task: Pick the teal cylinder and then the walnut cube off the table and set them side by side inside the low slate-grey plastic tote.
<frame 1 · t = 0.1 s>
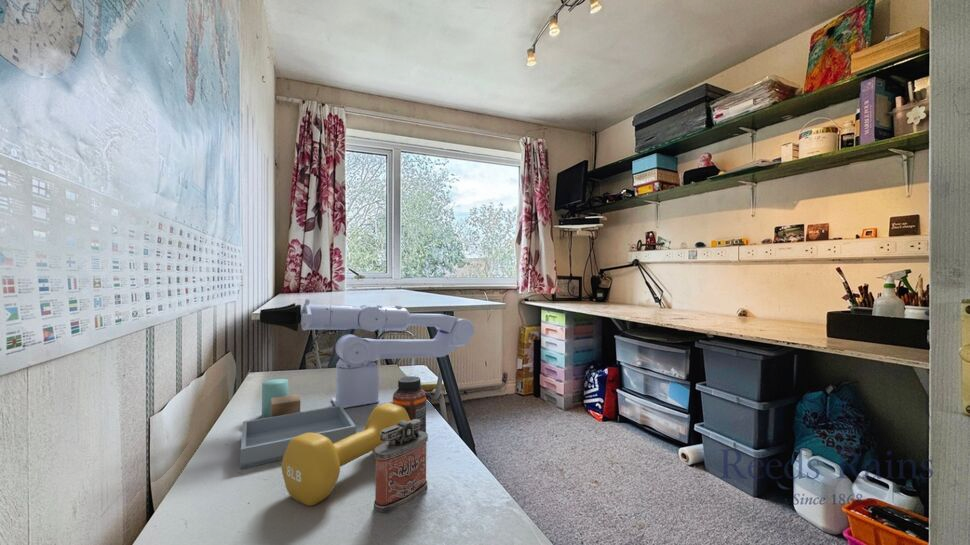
hand: (260, 315, 78), 22 cm above the table, tool horizontal, fingers open, 7 cm apart
supplement bottle: (409, 442, 66), on the table
tote: (298, 440, 67), on the table
dumbbell: (353, 475, 55), on the table
teal cylinder: (275, 414, 80), on the table
lighter: (401, 499, 49), on the table
cube: (285, 423, 75), on the table
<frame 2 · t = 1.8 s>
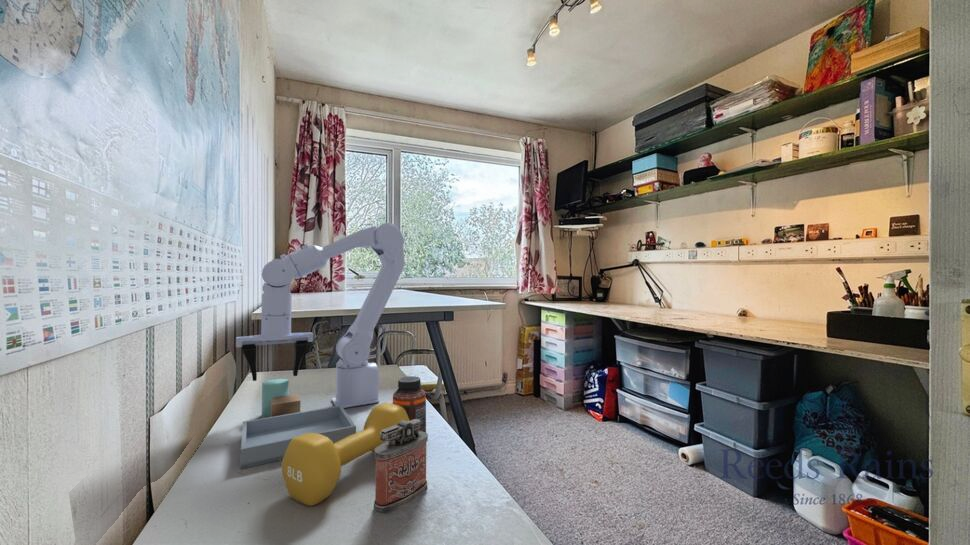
hand: (275, 377, 80), 8 cm above the table, tool pointing down, fingers open, 7 cm apart
nothing on the table moved.
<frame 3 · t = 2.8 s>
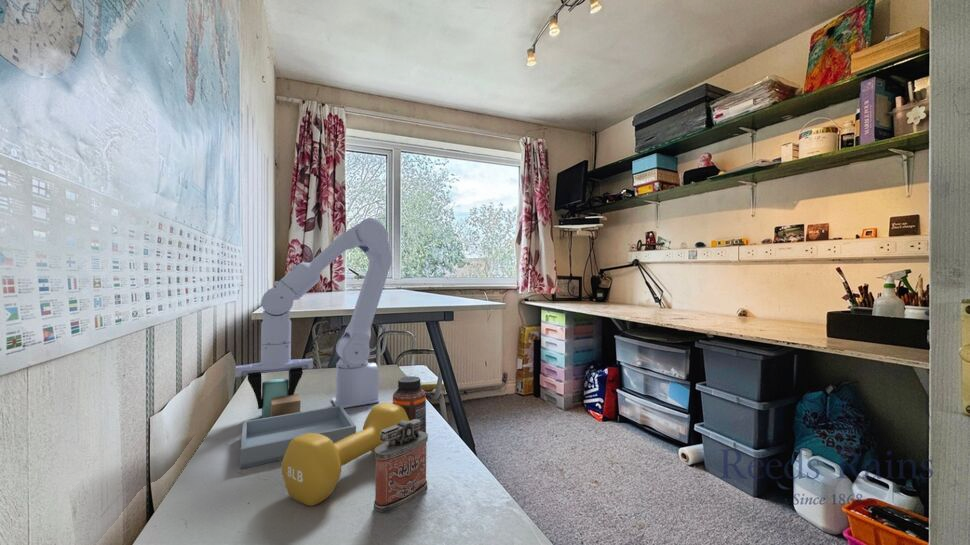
hand: (275, 405, 80), 2 cm above the table, tool pointing down, fingers closed on teal cylinder, 5 cm apart
teal cylinder: (275, 414, 80), on the table, touching gripper
everything else where it was.
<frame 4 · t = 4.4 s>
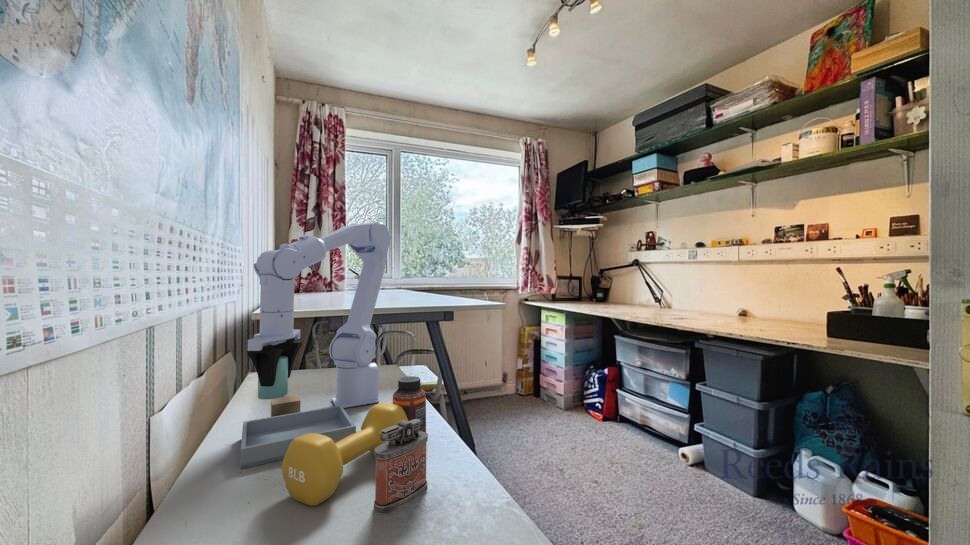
hand: (275, 381, 71), 9 cm above the table, tool pointing down, fingers closed on teal cylinder, 5 cm apart
teal cylinder: (273, 395, 71), point 7 cm above the table, touching gripper
everything else where it was.
when the fingers open (5 cm above the table, at t = 6.2 s): teal cylinder drops 1 cm, resting on tote.
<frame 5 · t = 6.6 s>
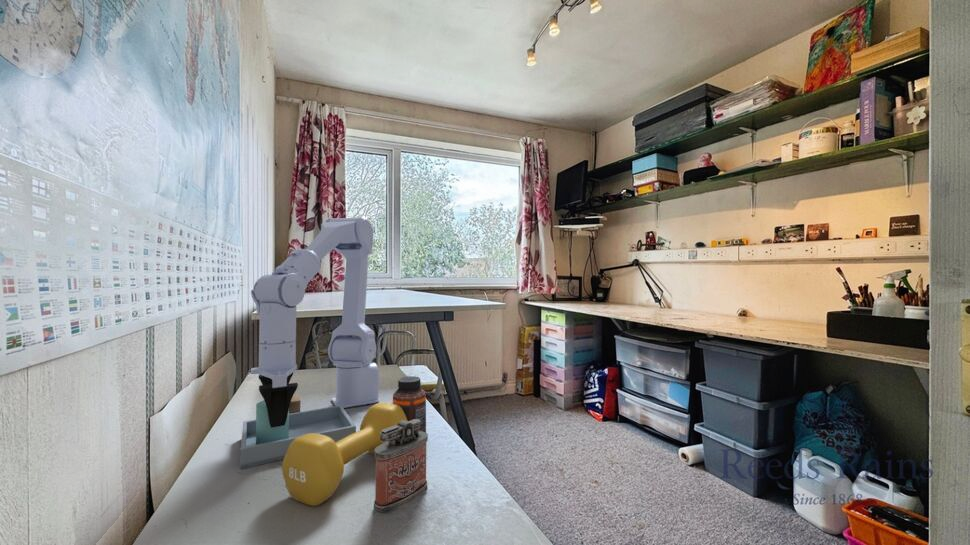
hand: (276, 418, 65), 5 cm above the table, tool pointing down, fingers open, 7 cm apart
teal cylinder: (272, 442, 64), point 1 cm above the table, touching tote
everything else where it was.
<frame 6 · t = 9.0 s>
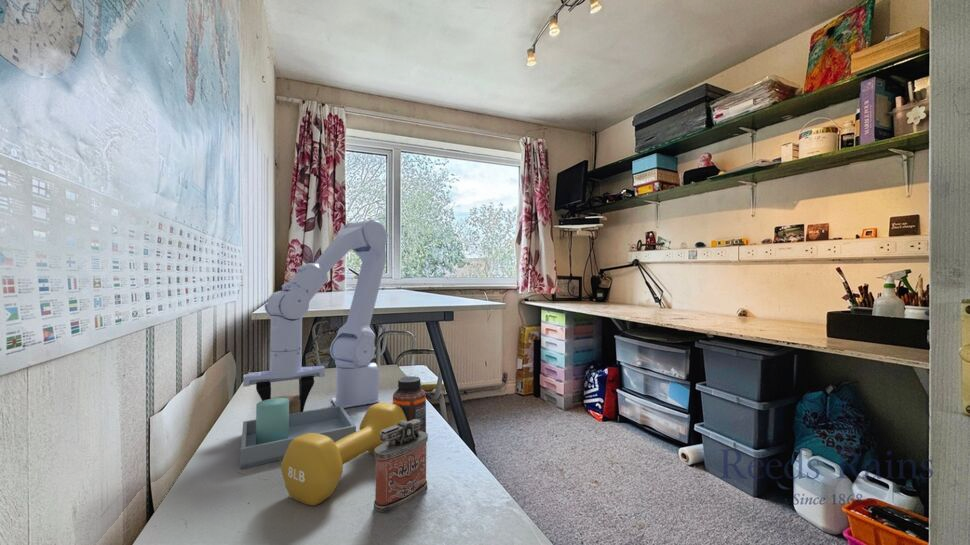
hand: (285, 416, 75), 1 cm above the table, tool pointing down, fingers closed on cube, 5 cm apart
cube: (285, 423, 75), on the table, touching gripper
everything else where it was.
when the fingers open (4 cm above the table, at t = 12.2 s): cube drops 1 cm, resting on tote.
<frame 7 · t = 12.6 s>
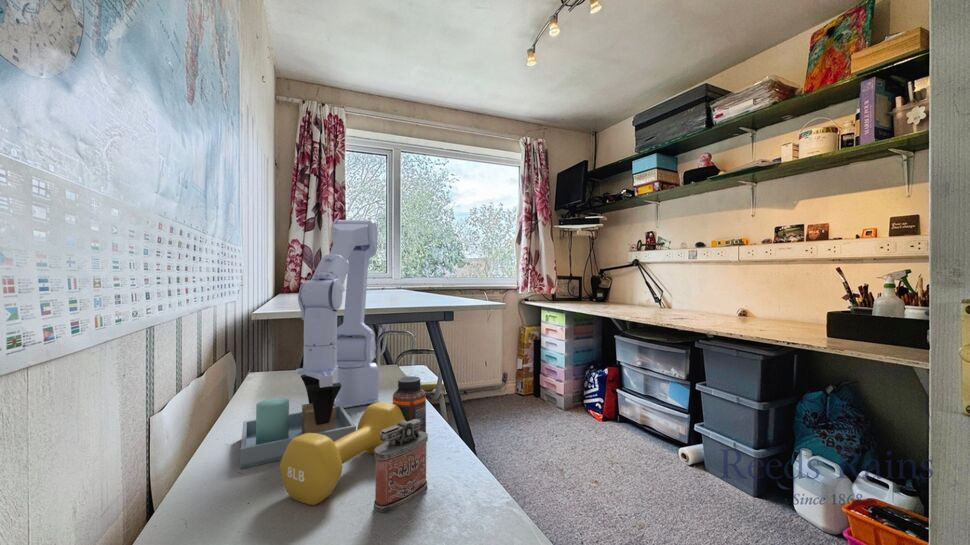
hand: (319, 416, 69), 4 cm above the table, tool pointing down, fingers open, 7 cm apart
cube: (318, 433, 68), point 1 cm above the table, touching tote
everything else where it was.
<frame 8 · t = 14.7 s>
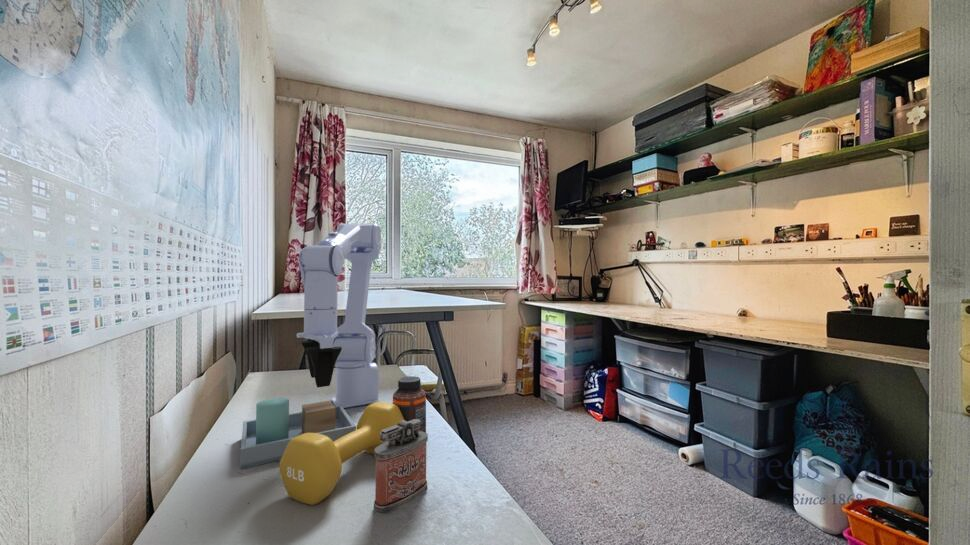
hand: (320, 381, 69), 10 cm above the table, tool pointing down, fingers open, 7 cm apart
nothing on the table moved.
at the end: cube inside the target area on the tote (3.3 cm from its centre), point 0.6 cm above the tote's base; teal cylinder inside the target area on the tote (4.1 cm from its centre), point 0.6 cm above the tote's base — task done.
